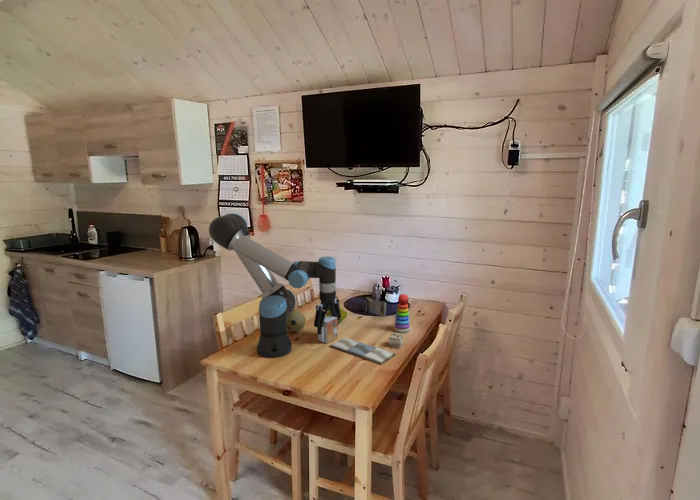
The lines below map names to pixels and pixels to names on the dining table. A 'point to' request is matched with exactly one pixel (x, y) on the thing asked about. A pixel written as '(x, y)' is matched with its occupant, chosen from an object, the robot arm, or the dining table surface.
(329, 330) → the small box
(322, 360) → the dining table surface
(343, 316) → the green fruit
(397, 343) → the die
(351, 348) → the game board
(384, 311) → the grey slab
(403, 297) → the stacking toy
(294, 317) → the toy pig
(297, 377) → the dining table surface
